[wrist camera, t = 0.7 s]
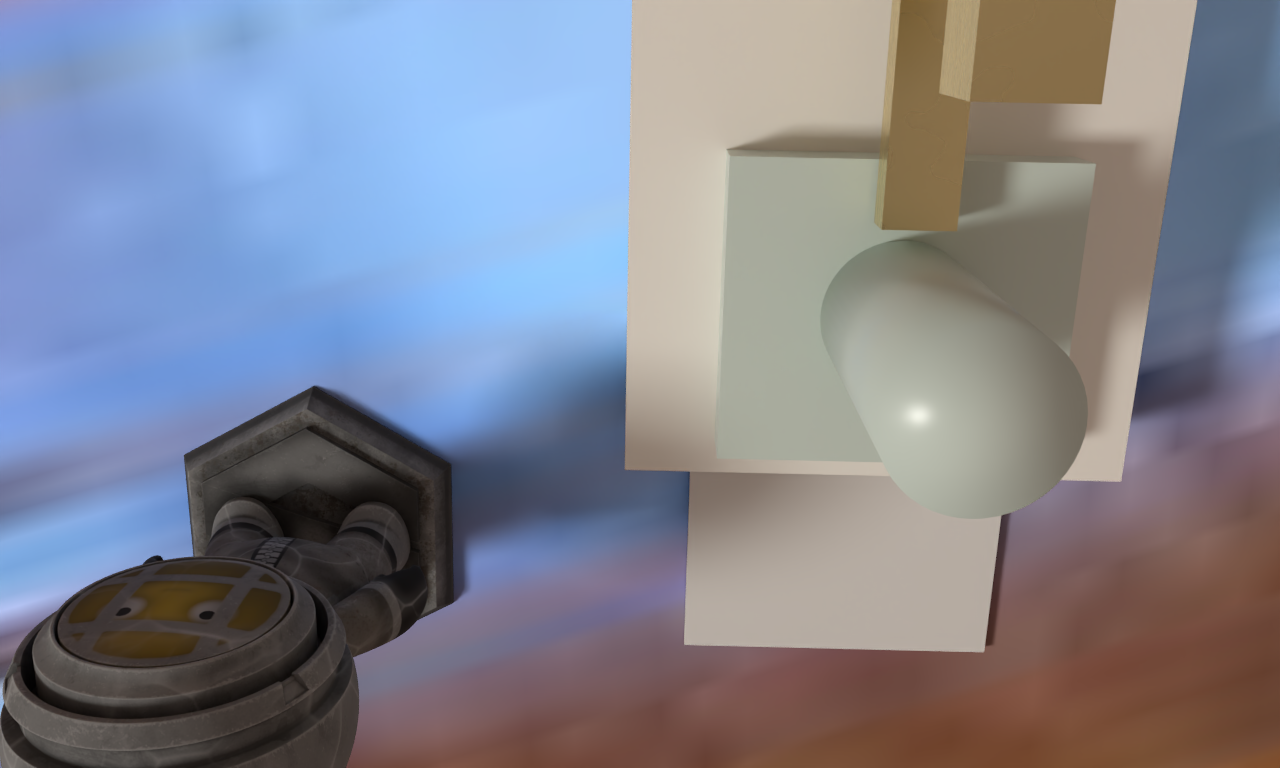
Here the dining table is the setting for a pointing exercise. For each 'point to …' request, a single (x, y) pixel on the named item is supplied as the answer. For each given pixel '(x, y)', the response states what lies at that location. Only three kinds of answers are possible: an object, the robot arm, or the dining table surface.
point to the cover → (905, 326)
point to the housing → (852, 122)
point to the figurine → (245, 606)
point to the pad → (832, 565)
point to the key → (973, 88)
